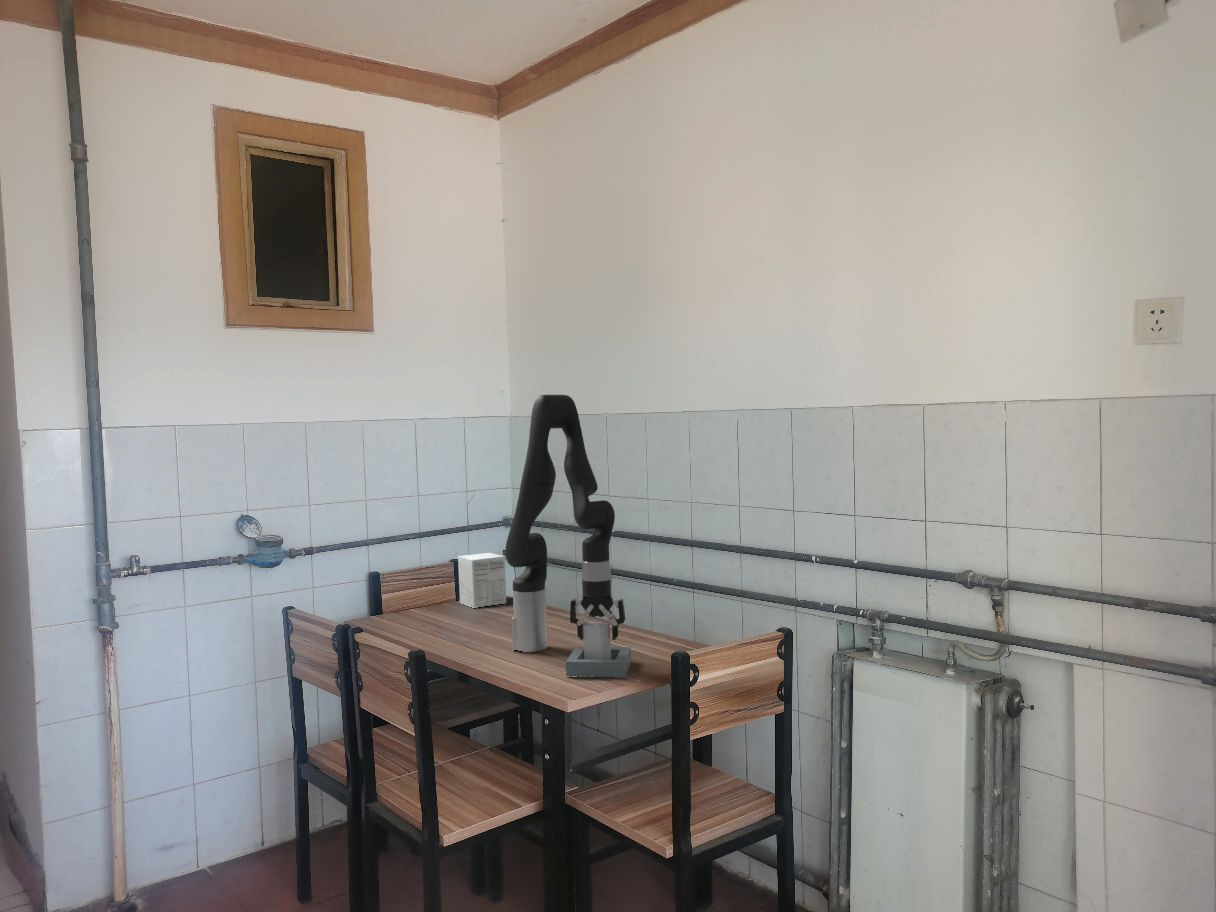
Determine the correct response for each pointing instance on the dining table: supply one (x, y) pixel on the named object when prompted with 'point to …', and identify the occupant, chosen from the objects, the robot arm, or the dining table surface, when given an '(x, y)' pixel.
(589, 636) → the skincare box
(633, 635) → the dining table surface
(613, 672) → the socket block
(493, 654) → the dining table surface
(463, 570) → the supplement box
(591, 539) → the robot arm
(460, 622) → the dining table surface
